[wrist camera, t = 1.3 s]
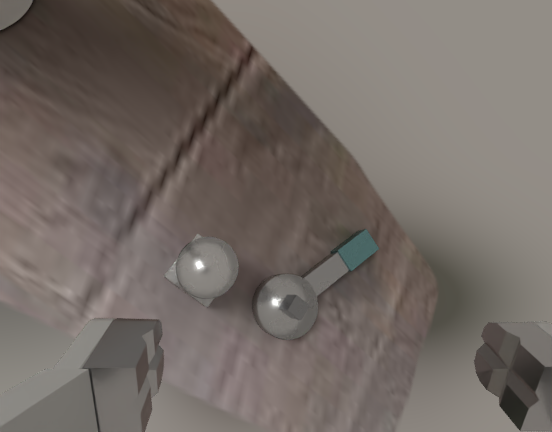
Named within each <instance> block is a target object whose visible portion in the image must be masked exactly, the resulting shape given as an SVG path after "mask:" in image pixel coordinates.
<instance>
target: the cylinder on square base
mask: <svg viewBox="0 0 552 432" xmlns="http://www.w3.org/2000/svg"><path fill="white" fill-rule="evenodd" d="M238 265H239V264H238V259H237V256H236V254H235V252H234V250H233V249H232V248H231V246H230V245H228V244H227V243H226V242H224V241H223V240H221V239H218V238H214V237H202V236H200V235H199V234H197V235H196V236H195V238H194V239H193V240H192V241H191V242H190V243H189V244H187V245H186V246H185V247H184V248H183V250H182V251H181V253H180V254H179V256H178V259H177V260H176V261H175V263H174V264H173V265H172V266H171V268H170V269H169V270H168V271H167V273H166V274H165V275H164V278H166V279H167V280H168V281H170V282H171V283H173V284H174V285H175V286H177V287H178V288H180V289H181V290H182V291H184V292H185V293H187V294H188V295H189V296H191V297H192V298H193V299H195V300H196V301H198V302H199V303H200V304H202V305H203V306H205V307H207V308H208V306H209V305H210V303H211V302H212V301H213V299H214V298H216V297H219V296H221V295H223V294H224V293H226V292H227V291H228V290H229V289H230V288H231V287H232V285H233V284H234V282H235V280H236V278H237V275H238V268H239V266H238Z"/></svg>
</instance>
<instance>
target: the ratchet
mask: <svg viewBox="0 0 552 432" xmlns="http://www.w3.org/2000/svg"><path fill="white" fill-rule="evenodd" d="M378 249H379V248H378V246H377V245H376V243H375V242H374V240H373V239H372V237H371V236H370V234H369V233H368V231H367V229H364V230H361V231H357V232H356V233H355V234H354V235H352V236H351V237H350V238H348V239H347V240H346V241H344V242H343V243H342V244H340V245H339V246H338V247H336V248H335V249H334V250H332V251H331V254H330V255H328V256H327V257H326V258H324V259H323V260H322V261H321V262H319V263H318V264H317V265H315V266H314V267H313V268H311V269H310V270H309V271H307V272H306V273H305V274H303V275H302V276H301V277H300V276H298V275H294V274H281V275H275V276H271V277H269V278H267V279H266V280H264V281H263V282H262V283H261V284H260V285H259V287H258V288H257V290H256V292H255V294H254V298H253V303H252V309H253V314H254V318H255V320H256V322H257V324H258V325H259V326H260V328H261V329H262V330H264V331H265V332H266V333H268V334H270V335H272V336H274V337H277V338H279V339H283V340H292V339H296V338H299V337H301V336H303V335H304V334H306V333H307V332H308V331H309V330H310V329H311V327H312V326H313V324H314V322H315V320H316V317H317V313H318V300H317V296H318V295H319V294H321V293H322V292H323V291H324V290H325V289H327V288H328V287H329V286H330V285H332V284H333V283H334V282H335V281H337V280H338V279H339V278H340V277H342V276H343V275H344V274H345V273H347V272H349V271H352V270H354V269H355V268H356V267H357V266H359V265H360V264H361V263H362V262H363V261H365V260H366V259H367V258H368V257H370V256H371V255H372V254H373V253H375V252H376V251H377V250H378Z"/></svg>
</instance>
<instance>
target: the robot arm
mask: <svg viewBox="0 0 552 432" xmlns="http://www.w3.org/2000/svg"><path fill="white" fill-rule="evenodd" d="M32 2H33V0H0V30H2V29H4V28H6V27H8V26H10V25H12V24H13V23H15V22H16V21H18V20H19V19H20V18H21V17H22V16H23V15H24V14H25V13H26V12H27V10H28V9H29V7H30V6H31V4H32ZM162 335H163V334H162V324H161V322H160V320H157V319H123V318H117V319H115V318H94V319H92V320H90V321H89V322H88V323H87V324H86V326H85V327H84V328H83V330H82V331H81V332H80V334H79V335H78V336H77V338H76V339H75V340H74V341H73V343H72V344H71V345H70V347H69V348H68V349H67V351H66V352H65V353H64V355H63V356H62V357H61V359H60V360H59V361H58V363H57V364H56V365H55V366H54V368H53V369H44V370H43V371H41V372H39V373H37V374H35V375H34V376H32V377H30V378H29V379H27V380H25V381H23V382H21V383H20V384H18V385H16V386H14V387H13V388H11V389H9V390H7V391H5V392H4V393H2V394H0V432H145V430H146V426H147V424H148V421H149V418H150V415H151V412H152V402H151V398H152V397H153V396H155V395H156V394H157V393H158V391H159V387H160V384H161V380H162V375H163V369H164V350H163V349H162V348H161V347H160V346H159V342H160V340H161V337H162ZM482 338H483V340H484V342H485V343H484V344H483V345H482V346H481V347H480V348H479V349H478V350H477V352H476V356H475V360H474V362H475V369H476V374H477V376H478V378H479V380H480V382H481V383H482V384H483V386H484V387H485V388H486V390H488V391H489V392H491V393H492V394H494V395H496V396H497V397H499V405H500V407H501V408H502V409H503V411H504V412H505V413H506V414H507V415H508V417H509V418H510V419H511V421H512V422H513V423H514V424H515V425H516V427H517V428H518V429H519V430H520V431H538V432H541V431H542V432H545V431H546V432H552V323H550V322H546V321H543V322H524V323H523V322H520V323H518V322H516V323H515V322H512V323H509V322H508V323H507V322H503V323H502V322H501V323H497V322H493V323H492V322H491V323H488V324H487V325H486V326H485V327H484V329H483V332H482Z"/></svg>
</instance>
